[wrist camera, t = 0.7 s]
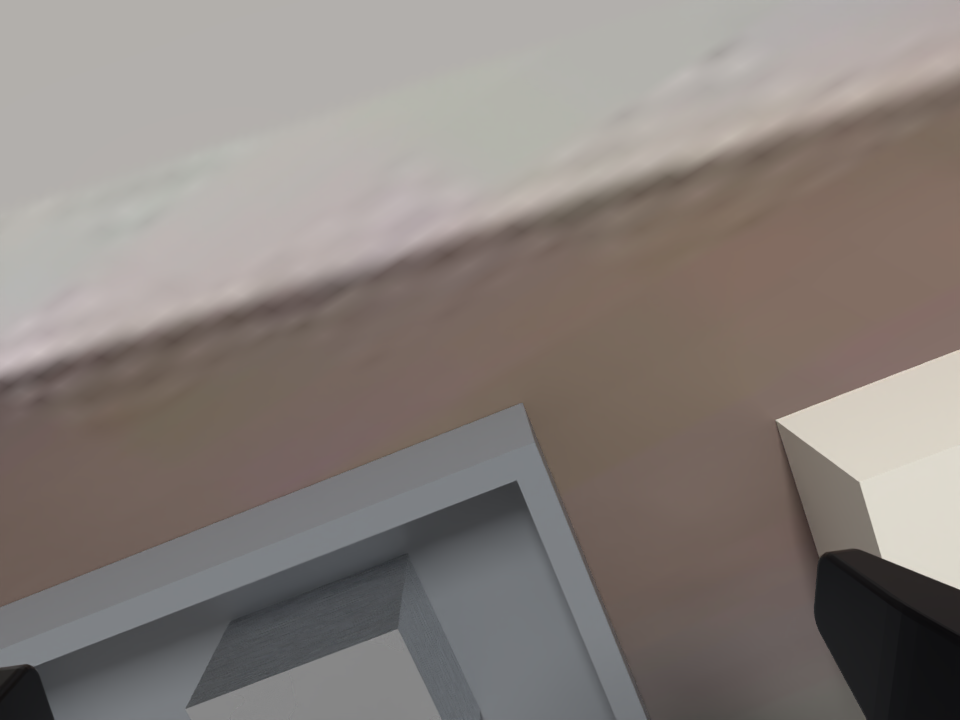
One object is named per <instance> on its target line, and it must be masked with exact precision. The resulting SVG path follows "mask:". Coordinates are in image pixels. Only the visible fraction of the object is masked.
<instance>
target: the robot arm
mask: <svg viewBox="0 0 960 720" xmlns="http://www.w3.org/2000/svg"><path fill="white" fill-rule="evenodd" d="M814 615H815V620H816V624H817V627H818V630H819V632H820V634H821V636H822V637H823V639H824V641H825V643H826V645H827V647H828V649H829V650H830V652H831V654H832V656H833V658H834V660H835V662H836V663H837V665H838V667H839V669H840V671H841V673H842V674H843V676H844V678H845V680H846V682H847V684H848V686H849V687H850V689H851V691H852V693H853V695H854V697H855V699H856V700H857V702H858V704H859V706H860V708H861V710H862V711H863V713H864V715H865V717H866V719H867V720H960V589H957V588H955V587H952V586H950V585H947V584H945V583H942V582H940V581H937V580H935V579H932V578H930V577H927V576H925V575H922V574H920V573H917V572H915V571H912V570H910V569H907V568H905V567H902V566H900V565H897V564H895V563H892V562H890V561H887V560H885V559H882V558H880V557H877V556H875V555H872V554H870V553H867V552H865V551H863V550H860V549H855V548H850V549H843V550H836V551H829V552H825V553H824V554H822V555H821V557H820V559H819V561H818V567H817V579H816V591H815V603H814ZM0 720H54V716H53V713H52V711H51V708H50V705H49V702H48V699H47V696H46V693H45V690H44V687H43V684H42V681H41V678H40V675H39V673H38V671H37V670H36V669H35V667H33V666H31V665H28V664H22V665H15V666H8V667H1V668H0Z"/></svg>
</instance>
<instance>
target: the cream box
mask: <svg viewBox="0 0 960 720" xmlns="http://www.w3.org/2000/svg"><path fill="white" fill-rule="evenodd" d="M776 424H777V427H778V430H779V433H780V436H781V439H782V442H783V446H784V449H785V452H786V455H787V458H788V461H789V464H790V468H791V471H792V474H793V477H794V480H795V483H796V486H797V490H798V493H799V496H800V499H801V502H802V505H803V508H804V512H805V515H806V518H807V521H808V524H809V527H810V530H811V534H812V537H813V540H814V543H815V546H816V549H817V552H818V555H819V557H821V555H822V554H824V553H825V552H829V551H836V550H843V549H850V548H855V549H860V550H863V551H865V552H867V553H870V554H872V555H875V556H877V557H880V558H882V559H885V560H887V561H890V562H892V563H895V564H897V565H900V566H902V567H905V568H907V569H910V570H912V571H915V572H917V573H920V574H922V575H925V576H927V577H930V578H932V579H935V580H937V581H940V582H942V583H945V584H947V585H950V586H952V587H955V588H957V589H960V350H957V351H955V352H952V353H949V354H947V355H944V356H942V357H939V358H936V359H934V360H931V361H929V362H926V363H923V364H921V365H918V366H915V367H913V368H910V369H908V370H905V371H902V372H900V373H897V374H895V375H892V376H889V377H887V378H884V379H881V380H879V381H876V382H874V383H871V384H868V385H866V386H863V387H861V388H858V389H855V390H853V391H850V392H847V393H845V394H842V395H840V396H837V397H834V398H832V399H829V400H827V401H824V402H821V403H819V404H816V405H814V406H811V407H808V408H806V409H803V410H800V411H798V412H795V413H793V414H790V415H787V416H785V417H782V418H780V419H777V420H776Z"/></svg>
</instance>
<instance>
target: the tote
mask: <svg viewBox="0 0 960 720" xmlns="http://www.w3.org/2000/svg"><path fill="white" fill-rule="evenodd" d="M407 553H408V556H409V558H410V560H411V562H412V564H413V566H414V568H415V571H416V573H417V575H418V577H419V579H420V581H421V583H422V586H423V588H424V590H425V592H426V594H427V596H428V598H429V601H430V603H431V605H432V607H433V609H434V611H435V613H436V616H437V618H438V620H439V622H440V624H441V626H442V628H443V631H444V633H445V635H446V637H447V639H448V641H449V643H450V646H451V648H452V650H453V652H454V654H455V656H456V658H457V661H458V663H459V665H460V667H461V669H462V671H463V673H464V676H465V678H466V680H467V682H468V684H469V686H470V688H471V691H472V693H473V695H474V697H475V699H476V701H477V703H478V706H479V708H480V720H650V718H649V715H648V713H647V710H646V708H645V705H644V703H643V700H642V698H641V695H640V693H639V690H638V688H637V685H636V683H635V680H634V678H633V675H632V673H631V670H630V668H629V665H628V663H627V660H626V658H625V656H624V653H623V651H622V648H621V646H620V643H619V641H618V638H617V636H616V633H615V631H614V628H613V626H612V623H611V621H610V618H609V616H608V613H607V611H606V608H605V606H604V603H603V601H602V599H601V596H600V594H599V591H598V589H597V586H596V584H595V581H594V579H593V576H592V574H591V571H590V569H589V566H588V564H587V561H586V559H585V556H584V554H583V551H582V549H581V546H580V544H579V542H578V539H577V537H576V534H575V532H574V529H573V527H572V524H571V522H570V519H569V517H568V514H567V512H566V509H565V507H564V504H563V502H562V499H561V497H560V494H559V492H558V489H557V487H556V484H555V482H554V480H553V477H552V475H551V472H550V470H549V467H548V465H547V462H546V460H545V457H544V455H543V452H542V450H541V447H540V445H539V442H538V440H537V437H536V435H535V432H534V430H533V427H532V425H531V423H530V420H529V418H528V415H527V413H526V410H525V408H524V405H523V403H520V404H518V405H515V406H513V407H510V408H508V409H505V410H502V411H500V412H497V413H495V414H492V415H490V416H487V417H485V418H482V419H480V420H477V421H474V422H472V423H469V424H467V425H464V426H462V427H459V428H457V429H454V430H451V431H449V432H446V433H444V434H441V435H439V436H436V437H434V438H431V439H429V440H426V441H423V442H421V443H418V444H416V445H413V446H411V447H408V448H406V449H403V450H400V451H398V452H395V453H393V454H390V455H388V456H385V457H383V458H380V459H377V460H375V461H372V462H370V463H367V464H365V465H362V466H360V467H357V468H355V469H352V470H349V471H347V472H344V473H342V474H339V475H337V476H334V477H332V478H329V479H326V480H324V481H321V482H319V483H316V484H314V485H311V486H309V487H306V488H304V489H301V490H298V491H296V492H293V493H291V494H288V495H286V496H283V497H281V498H278V499H275V500H273V501H270V502H268V503H265V504H263V505H260V506H258V507H255V508H252V509H250V510H247V511H245V512H242V513H240V514H237V515H235V516H232V517H230V518H227V519H224V520H222V521H219V522H217V523H214V524H212V525H209V526H207V527H204V528H201V529H199V530H196V531H194V532H191V533H189V534H186V535H184V536H181V537H179V538H176V539H173V540H171V541H168V542H166V543H163V544H161V545H158V546H156V547H153V548H150V549H148V550H145V551H143V552H140V553H138V554H135V555H133V556H130V557H127V558H125V559H122V560H120V561H117V562H115V563H112V564H110V565H107V566H105V567H102V568H99V569H97V570H94V571H92V572H89V573H87V574H84V575H82V576H79V577H76V578H74V579H71V580H69V581H66V582H64V583H61V584H59V585H56V586H54V587H51V588H48V589H46V590H43V591H41V592H38V593H36V594H33V595H31V596H28V597H25V598H23V599H20V600H18V601H15V602H13V603H10V604H8V605H5V606H3V607H0V668H1V667H8V666H15V665H22V664H28V665H31V666H33V667H35V669H36V670H37V671H38V673H39V675H40V678H41V681H42V684H43V687H44V690H45V693H46V696H47V699H48V702H49V705H50V708H51V711H52V713H53V716H54V720H191V719H190V717H189V715H188V713H187V712H186V710H185V708H186V706H187V704H188V703H189V701H190V699H191V697H192V695H193V693H194V691H195V689H196V687H197V685H198V683H199V681H200V679H201V677H202V675H203V673H204V671H205V669H206V667H207V665H208V663H209V661H210V659H211V657H212V655H213V654H214V652H215V650H216V648H217V646H218V644H219V642H220V640H221V638H222V636H223V634H224V632H225V630H226V628H227V626H228V624H229V622H230V621H232V620H235V619H237V618H240V617H243V616H245V615H248V614H250V613H253V612H256V611H258V610H261V609H263V608H266V607H269V606H271V605H274V604H277V603H279V602H282V601H284V600H287V599H290V598H292V597H295V596H297V595H300V594H303V593H305V592H308V591H310V590H313V589H316V588H318V587H321V586H323V585H326V584H329V583H331V582H334V581H336V580H339V579H342V578H344V577H347V576H350V575H352V574H355V573H357V572H360V571H363V570H365V569H368V568H370V567H373V566H376V565H378V564H381V563H383V562H386V561H389V560H391V559H394V558H396V557H399V556H402V555H404V554H407Z"/></svg>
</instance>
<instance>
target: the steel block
mask: <svg viewBox="0 0 960 720" xmlns="http://www.w3.org/2000/svg"><path fill="white" fill-rule="evenodd" d="M185 710H186V712H187V713H188V715H189V717H190V719H191V720H480V708H479V706H478V703H477V701H476V699H475V697H474V695H473V693H472V691H471V688H470V686H469V684H468V682H467V680H466V678H465V676H464V673H463V671H462V669H461V667H460V665H459V663H458V661H457V658H456V656H455V654H454V652H453V650H452V648H451V646H450V643H449V641H448V639H447V637H446V635H445V633H444V631H443V628H442V626H441V624H440V622H439V620H438V618H437V616H436V613H435V611H434V609H433V607H432V605H431V603H430V601H429V598H428V596H427V594H426V592H425V590H424V588H423V586H422V583H421V581H420V579H419V577H418V575H417V573H416V571H415V568H414V566H413V564H412V562H411V560H410V558H409V556H408V553H407V554H404V555H402V556H399V557H396V558H394V559H391V560H389V561H386V562H383V563H381V564H378V565H376V566H373V567H370V568H368V569H365V570H363V571H360V572H357V573H355V574H352V575H350V576H347V577H344V578H342V579H339V580H336V581H334V582H331V583H329V584H326V585H323V586H321V587H318V588H316V589H313V590H310V591H308V592H305V593H303V594H300V595H297V596H295V597H292V598H290V599H287V600H284V601H282V602H279V603H277V604H274V605H271V606H269V607H266V608H263V609H261V610H258V611H256V612H253V613H250V614H248V615H245V616H243V617H240V618H237V619H235V620H232V621H230V622H229V624H228V626H227V628H226V630H225V632H224V634H223V636H222V638H221V640H220V642H219V644H218V646H217V648H216V650H215V652H214V654H213V655H212V657H211V659H210V661H209V663H208V665H207V667H206V669H205V671H204V673H203V675H202V677H201V679H200V681H199V683H198V685H197V687H196V689H195V691H194V693H193V695H192V697H191V699H190V701H189V703H188V704H187V706H186V708H185Z"/></svg>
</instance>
